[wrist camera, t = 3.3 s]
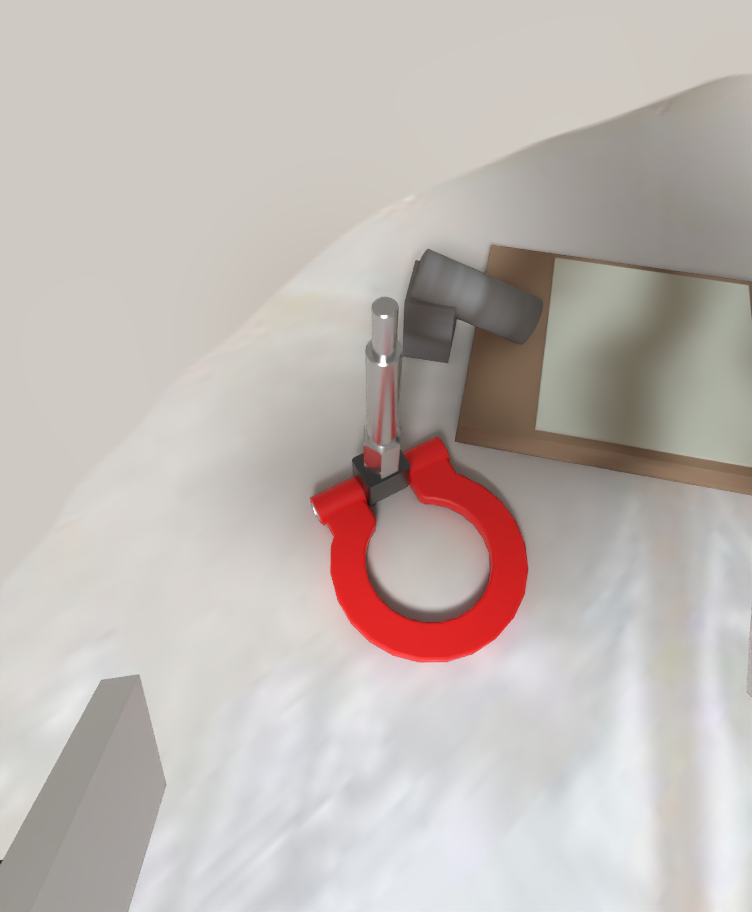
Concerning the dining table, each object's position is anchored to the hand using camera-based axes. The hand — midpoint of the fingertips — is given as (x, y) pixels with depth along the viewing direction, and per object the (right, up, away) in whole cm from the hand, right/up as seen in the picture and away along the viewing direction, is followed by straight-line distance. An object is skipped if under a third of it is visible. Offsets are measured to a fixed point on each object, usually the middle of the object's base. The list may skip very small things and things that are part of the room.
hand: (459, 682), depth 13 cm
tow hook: (0, 0, +15) cm, 15 cm away
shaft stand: (+12, +9, +19) cm, 24 cm away
